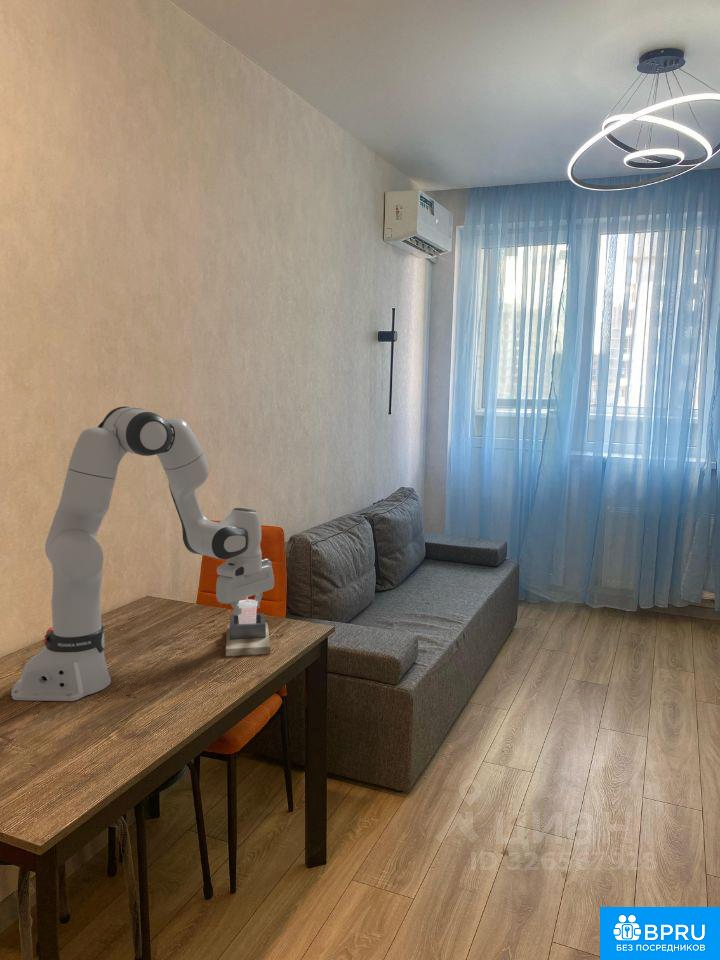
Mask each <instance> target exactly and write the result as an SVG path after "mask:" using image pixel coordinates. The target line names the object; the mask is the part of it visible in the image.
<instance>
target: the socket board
mask: <svg viewBox="0 0 720 960" xmlns="http://www.w3.org/2000/svg"><path fill="white" fill-rule="evenodd" d="M268 623H269V622H265V624H266V638H255V639H236V640H230V624H226V634H225V635H226V636H225V637H226V638H225V642H226V644H225V656H226V657H231V656H235V657H237V656H250V655H267V654H268V655H271V653H272V652H271V640H270V633H269V632H270V631H269V625H268Z"/></svg>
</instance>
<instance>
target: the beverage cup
mask: <svg viewBox="0 0 720 960" xmlns="http://www.w3.org/2000/svg"><path fill="white" fill-rule="evenodd" d="M257 605H258V601H256V600H254V599H249V597H247V598H245V599H241V600H239V604H238V606H239V608H242V611H241V612H242V613H241V614H240V615H238V619H239V624H253V623H256V614H257V609H258V608H257Z"/></svg>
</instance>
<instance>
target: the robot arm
mask: <svg viewBox="0 0 720 960" xmlns="http://www.w3.org/2000/svg"><path fill="white" fill-rule="evenodd" d="M128 453H130V454H135V455H139V456H144V457H149V456H155V455H156V456H157V457H158V459H159V461H160V463H161V466H162V468H163V470H164V473H165V475H166V477H167V480H168V487H169V491H170V494H171V495H170V496H171V498H172V501H173V503H174V507H175V509H176V512H177V515H178V517H179V520H180V524H181V531H182V542H183V544H184V546H185V548H186V550H187V551H189V552H190V553H192V554H195V555H202V556H205V557H206V556H207V557H210V558H214V559H218V560H225V561H224V562H223V563H222V564H220V565H219V566H218V567H217V568H216V574H217V575H218V576H217V579H216V586H215V594H216V595H215V596H216V600H217V601H218V603H221V604H224V605H231V607H232V609H233V615H240V614H241V613H242V612H241V611H242V608H239V606H238V604H239V601H240V600H245V599H246V598H247V597H248V598H249V597H252V596H254V599H253V600H256V601H258V605H257V609H259V608H261V607H260V605H261V603H260V602H261V601H262V598H263V595H264V593H263V592H268V591H271V590H273V588H274V587H275V575H274V569H273V566H272V565H273V564H272V561H271V560H270V559H269V558H264V559H262V557H263V556H262V555H263V553H262V549H261V542H262V522H261V518H260V514H259V512H258V511H257V510H255V509H252V508H251V509H250V508H243V507H235V508H233V509H231V511H230V513H229V514H228V515H227V516H226V517H225V518H223V519H222V520H220V521H218V522H217V521H212V520H210V519H209V518H207V517H206V516H205V515H204V514H203V512H202V509H201V506H200V503H199V500H198V497H197V495H196V490H197V489H198V488H200V487H201V486H203V485H204V484H205V482H206V481H207V479H208V477H209V474H210V467H209V461H208V460H207V457H206V455H205V452H204V449H203V448H202V446H201V443H200V441H199V439H198V438H197V436H196V434H195V433H194V431H193V430H192V428H191V427H190V425H189V424H188V423H187V421H186V420H184V419H182V418H178V417H170V418H163V417H162V416H160V415H159V414H158V413H155V412H152V411H151V412H150V411H148V410H145V409H143V408H139V407H133V406H132V407H131V406H119V407H116V408H113V409H111V410H110V411H109V412H108V413H107V414H106V416H105V417H104V418H103V420H102V421H101V423H99V425H97V427H89V428H87V429H84V430H83V431H82V432H81V433H80V435H79V436H78V438H77V441H76V443H75V445H74V447H73V450H72V453H71V457H70V458H69V459H70V460H69V463H68V466H67V467H68V468H67V470H66V476H65V479H64V484H63V488H62V492H61V497H60V500H59V502H58V506H57V507H56V508H57V509H56V511H55V513H54V516H53V518H52V522H51V525H50V529H49V531H48V535H47V538H46V540H45V545H44V550H45V555H46V558H47V559H48V561H49V562H50V563H51V567H52V592H51V593H52V596H51V601H50V602H51V618H52V626H51V627H49V628H48V629H47V630H46V633H45V636H44V639H43V645H45V646H44V648H42V649H40V651H38V652H37V653H35V655H34V656H32V657H30V658H29V660H28V661H27V662H26V664H25V665H24V666H23V669H22V673H21V678H19V680H17V681H16V683H15V684H14V685H13V686H12V688H11V691H10V692H11V693H10V694H11V695H10V696H12V697H11V698H12V700H14V701H39V702H40V701H41V702H42V701H48V702H49V701H50V702H51V701H52V702H53V701H54V702H75V701H77V700H80V699H83V698H84V697H86V696H88V695H92V694H95V693H98V692H99V691H100V692H101V691H103V690H104V689H106V688H107V687H108V686H109V685H111V683H112V678H111V676H110V673H109V670H108V667H107V662H106V658H105V657H106V656H105V651H104V650H105V645H106V644H105V643H106V642H105V641H106V639H105V631H104V626H103V625H102V609H101V592H102V591H101V589H102V581H103V579H102V578H103V565H104V553H103V549H102V547H101V545H100V543H99V542H98V541H97V536H98V533H99V529H100V527H101V525H102V522H103V520H104V518H105V516H106V514H107V513H108V511H109V508H110V504H111V499H112V496H113V491H114V487H115V483H116V478H117V474H118V468H119V465H120V463H121V460H122V459H123V457H124V456H125V455H126V454H128Z"/></svg>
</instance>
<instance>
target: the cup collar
mask: <svg viewBox="0 0 720 960" xmlns="http://www.w3.org/2000/svg"><path fill="white" fill-rule="evenodd" d="M265 623H266V615H265V613H264V612H262V613H261V612H260V613H259V612H258V613H257V612H256V623H253V624H239V619H238V615H234V614H229V625H230V640H236V639H255V638H266V624H265Z"/></svg>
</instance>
